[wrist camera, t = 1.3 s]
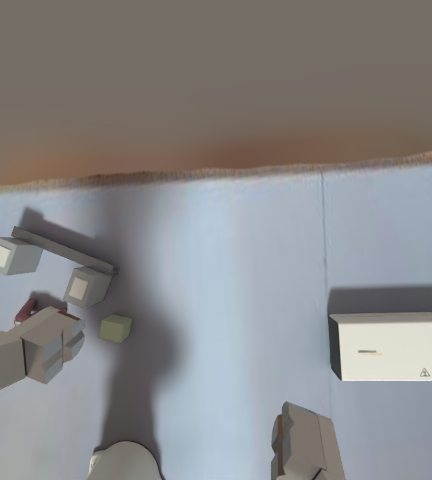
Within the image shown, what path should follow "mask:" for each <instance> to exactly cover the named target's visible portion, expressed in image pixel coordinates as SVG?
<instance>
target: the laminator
mask: <svg viewBox="0 0 432 480" xmlns="http://www.w3.org/2000/svg"><path fill="white" fill-rule="evenodd" d="M328 318H329V333H330V349H331V369H332V370H333V372H334V373H335V374H336V375H337V377H338V378H339V379H340V380H342V381H432V312H403V313H358V314H328Z"/></svg>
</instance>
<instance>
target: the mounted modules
mask: <svg viewBox="0 0 432 480" xmlns="http://www.w3.org/2000/svg"><path fill="white" fill-rule="evenodd" d="M42 251H43V249H42V248H40V247H37V246H35V245H33V244H30V243H28V242H25V241H23V240H20V239H18V238H8V237H0V273H1V274H4V275H6V276H7V275H15V274H22V273H29V272H35V271H36V268H37V265H38V262H39V260H40V257H41V254H42ZM112 276H113V275H111V276H109V275H107V274H104V273H102V272H99V271H97V270H94V269H92V268H89V267H81V268H74V270H73V273H72V276H71V279H70V281H69V284H68V287H67V290H66V292H65V295H64V298H63V300H65V301H67V302H70V303H72V304H74V305H77V306H79V307H81V308H86V307H89V306H91V305H94V304H96V303H98V302H101V301H103V300H104V298H105V295H106V292H107V290H108V287H109V284H110V281H111V279H112Z"/></svg>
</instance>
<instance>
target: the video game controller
mask: <svg viewBox="0 0 432 480" xmlns="http://www.w3.org/2000/svg"><path fill="white" fill-rule="evenodd" d="M35 303H36V300H35V299H30V300H29V301H27V302H26V304H25V305H24V306H23V307H22V309H21V310H20V311H19V313H18V314H17V315H16V317H15V320H14V324H15V327H16V326H17V325H19V324H21V323H22V322H24V321H25V320H27V319H28V318H30V317H32V316H33V315H35V314H36V313H38V312H39V311H38V312H35V313H33V314H31V311H32V309H33V308H34V305H35ZM61 311H64V312H66V309H65V308H63V309H61Z"/></svg>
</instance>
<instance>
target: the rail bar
mask: <svg viewBox="0 0 432 480" xmlns="http://www.w3.org/2000/svg"><path fill="white" fill-rule="evenodd" d="M11 236H13V237H15V238H18V239H20V240H23V241H25V242H28V243H30V244H33V245H35V246H37V247H40V248H42V249H45V250H47V251H50V252H52V253H55V254H57V255H60V256H62V257H65V258H67V259H70V260H72V261H75V262H77V263H79V264H82V265H84V266H87V267H89V268H92V269H94V270H97V271H99V272H102V273H104V274H107V275H109V276H111V275H115V274H118V271H119V269H117V268H115V267H114V265H111V264H109V263H106V262H104V261H101V260H99V259H96V258H94V257H91V256H89V255H86V254H84V253H81V252H79V251H76V250H74V249H71V248H69V247H66V246H64V245H61V244H59V243H56V242H54V241H51V240H49V239H46V238H44V237H41V236H39V235H36V234H34V233H31V232H29V231H26V230H24V229H21V228H19V227H16V226H14V229H13V232H12V235H11Z"/></svg>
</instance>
